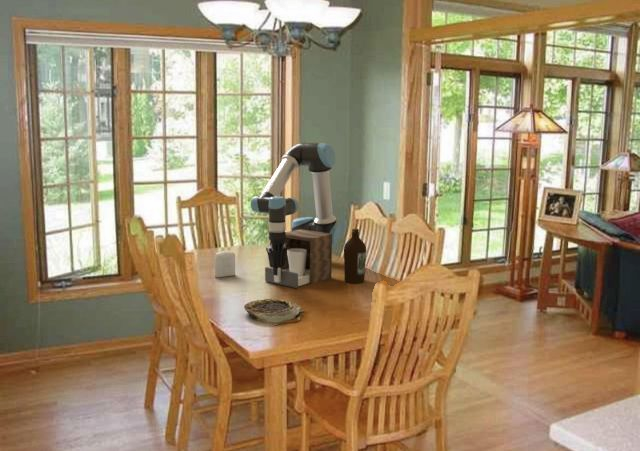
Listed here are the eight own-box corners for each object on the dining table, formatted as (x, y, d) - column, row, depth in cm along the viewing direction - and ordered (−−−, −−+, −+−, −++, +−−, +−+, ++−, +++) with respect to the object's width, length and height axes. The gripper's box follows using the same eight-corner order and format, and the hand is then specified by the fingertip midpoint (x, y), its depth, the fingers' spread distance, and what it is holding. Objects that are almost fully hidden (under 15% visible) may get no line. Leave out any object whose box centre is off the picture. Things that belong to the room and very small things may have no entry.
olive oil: (338, 281, 310) (339, 229, 306) (351, 277, 318) (352, 226, 314) (357, 285, 304) (359, 232, 300) (369, 280, 312) (371, 228, 308)
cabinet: (300, 271, 329) (300, 229, 325) (331, 277, 317) (331, 233, 313) (280, 277, 317) (280, 233, 313) (312, 283, 305) (312, 238, 301)
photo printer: (232, 273, 323) (232, 249, 320) (236, 275, 319) (236, 250, 317) (213, 276, 317) (213, 251, 315) (217, 278, 313) (216, 253, 311)
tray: (292, 273, 323) (292, 260, 322) (323, 279, 312) (323, 265, 311) (265, 281, 308) (265, 267, 307) (296, 288, 296) (296, 273, 295)
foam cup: (300, 280, 305) (300, 253, 303) (283, 277, 310) (283, 250, 307) (310, 276, 313) (310, 249, 311) (294, 273, 318) (294, 247, 316)
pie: (247, 330, 241) (247, 317, 240) (226, 310, 266) (226, 298, 265) (317, 321, 253) (317, 309, 252) (291, 303, 277) (291, 291, 276)
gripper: (280, 228, 303) (280, 277, 307) (261, 232, 293) (261, 283, 297) (292, 229, 299) (292, 280, 303) (273, 234, 288) (274, 286, 293)
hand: (277, 281), depth 300 cm, fingers closed
